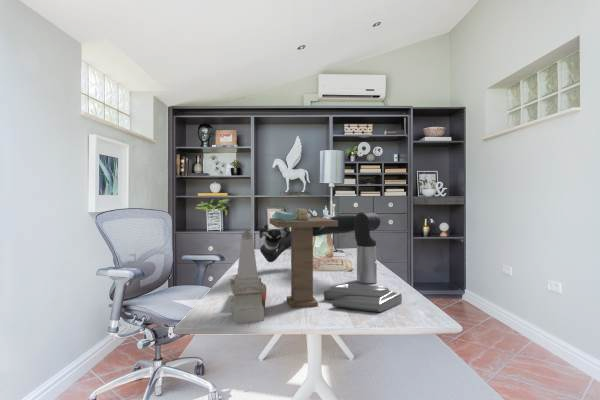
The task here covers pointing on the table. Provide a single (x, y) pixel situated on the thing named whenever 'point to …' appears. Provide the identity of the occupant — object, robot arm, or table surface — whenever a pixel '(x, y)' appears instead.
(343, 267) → the mottled tan slab
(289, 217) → the slat
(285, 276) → the table surface
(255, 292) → the miniature monument
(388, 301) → the striped bevelled slab
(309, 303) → the shelf stand
